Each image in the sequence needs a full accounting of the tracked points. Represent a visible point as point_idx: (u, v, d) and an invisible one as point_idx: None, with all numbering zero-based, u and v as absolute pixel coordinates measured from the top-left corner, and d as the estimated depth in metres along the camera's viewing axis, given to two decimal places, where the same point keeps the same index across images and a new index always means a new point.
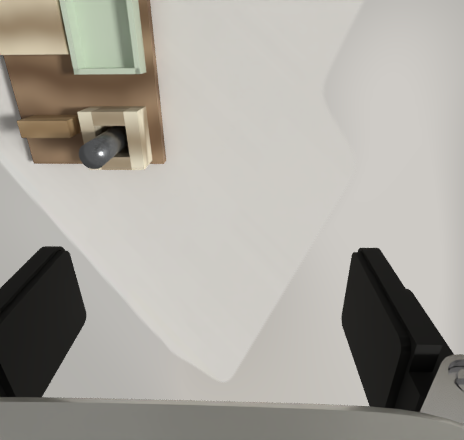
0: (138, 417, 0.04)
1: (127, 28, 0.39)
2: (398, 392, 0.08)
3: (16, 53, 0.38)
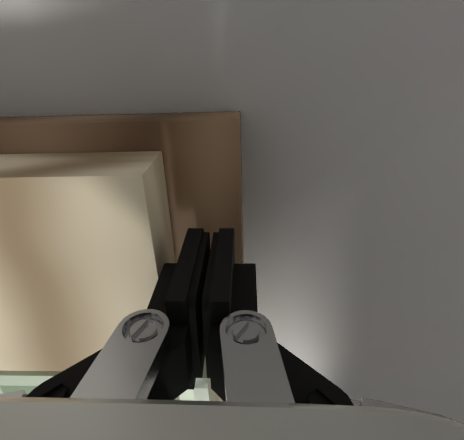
0: (138, 417, 0.04)
1: None
2: None
3: None
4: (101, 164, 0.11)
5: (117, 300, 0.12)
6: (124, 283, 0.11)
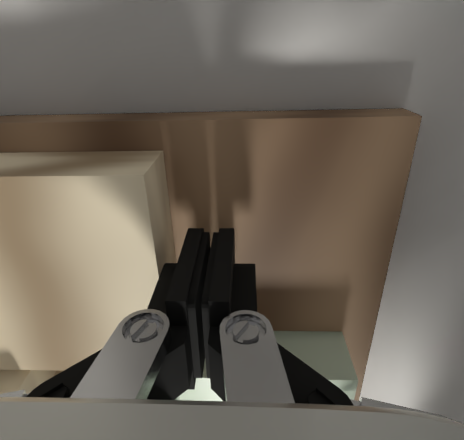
0: (138, 417, 0.04)
1: None
2: None
3: None
4: (102, 163, 0.11)
5: (118, 300, 0.12)
6: (124, 283, 0.11)
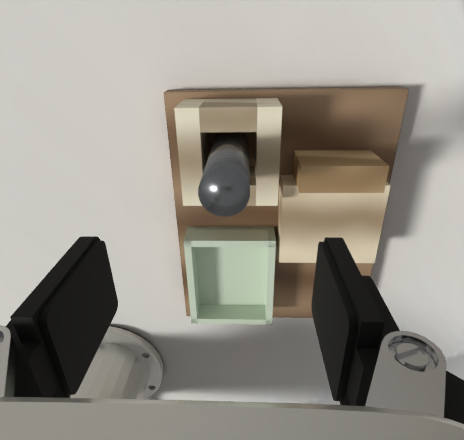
0: (138, 417, 0.04)
1: (205, 271, 0.32)
2: (350, 368, 0.08)
3: None
4: None
5: None
6: None
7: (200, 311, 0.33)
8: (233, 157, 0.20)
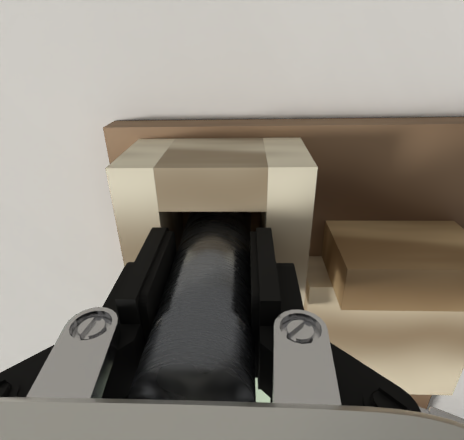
0: (138, 417, 0.04)
1: None
2: (258, 346, 0.09)
3: None
4: None
5: None
6: None
7: None
8: (217, 295, 0.09)
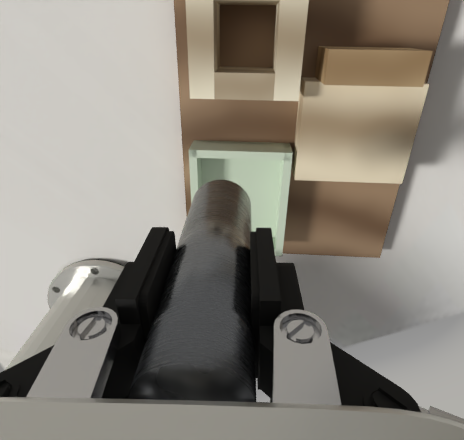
0: (138, 417, 0.04)
1: None
2: (258, 346, 0.09)
3: None
4: None
5: (345, 162, 0.25)
6: (354, 167, 0.25)
7: None
8: (217, 294, 0.09)
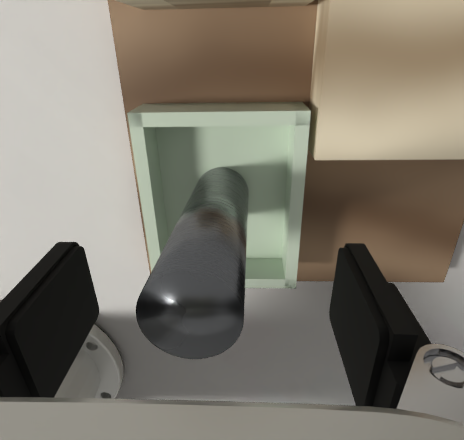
0: (138, 417, 0.04)
1: (178, 194, 0.18)
2: (378, 381, 0.08)
3: None
4: None
5: (404, 124, 0.14)
6: (419, 132, 0.14)
7: None
8: (213, 235, 0.10)
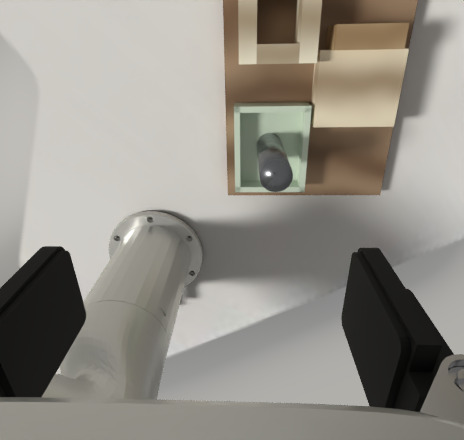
0: (138, 417, 0.04)
1: (247, 146, 0.38)
2: (398, 392, 0.08)
3: (383, 50, 0.31)
4: None
5: (350, 111, 0.34)
6: (357, 115, 0.34)
7: (242, 183, 0.39)
8: (280, 153, 0.30)
